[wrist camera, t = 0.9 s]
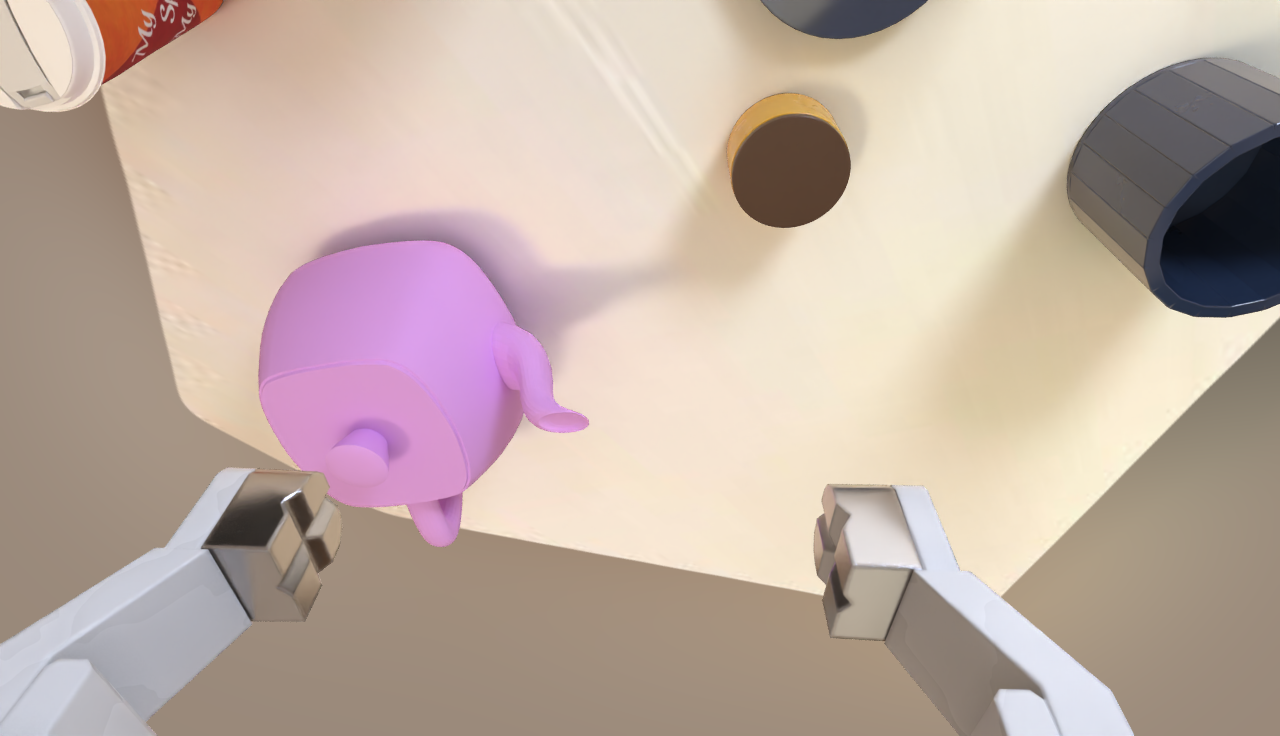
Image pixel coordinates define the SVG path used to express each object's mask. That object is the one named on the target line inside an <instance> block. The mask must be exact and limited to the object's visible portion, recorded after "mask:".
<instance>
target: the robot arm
mask: <svg viewBox="0 0 1280 736" xmlns="http://www.w3.org/2000/svg"><path fill="white" fill-rule="evenodd" d="M329 488H330V486H329V484H328V481H327V479H326V477H325V475H324V473H321V472H317V471H299V470H280V469H260V468H258V469H251V468H230V467H227V468H225V469H224V470H222V471H221V472H219V473H218V474H217V475H216V476H215V477H214V479H213V480H212V482H211V483H210V484H209V486H208V487H207V489H206V490H205V491H204V493H203V494H202V496H201V497H200V498H199V500H198V501H197V503H196V504H195V505H194V507H193V508H192V510H191V511H190V513H189V514H188V515H187V517H186V518H185V520H184V521H183V522H182V524H181V525H180V527H179V528H178V530H177V531H176V532H175V534H174V535H173V536H172V538H171V539H170V541H169V542H168V544H167V545H166V546H165V548H154V549H152V550H151V551H149V552H148V553H146V554H144V555H143V556H141V557H139V558H138V559H136V560H135V561H133V562H132V563H130V564H128V565H127V566H125V567H123V568H122V569H120V570H119V571H117V572H116V573H114V574H112V575H111V576H109V577H107V578H106V579H104V580H103V581H101V582H99V583H98V584H96V585H95V586H93V587H91V588H90V589H88V590H86V591H85V592H83V593H82V594H80V595H78V596H77V597H76V598H74V599H72V600H70V601H69V602H67V603H66V604H64V605H62V606H61V607H59V608H58V609H56V610H54V611H53V612H51V613H50V614H48V615H46V616H45V617H43V618H42V619H40V620H38V621H37V622H35V623H34V624H32V625H30V626H29V627H27V628H26V629H24V630H22V631H21V632H19V633H18V634H16V635H14V636H13V637H11V638H9V639H8V640H6V641H5V642H3V643H2V644H0V736H157V734H155V732H154V731H153V730H152V729H151V728H150V727H149V726H148V725H147V724H146V721H147V720H148V719H149V718H150V717H151V716H153V715H154V714H155V713H156V712H157V711H158V710H159V709H160V708H161V707H162V706H163V705H165V704H166V703H167V702H168V701H169V700H170V699H171V698H172V697H173V696H174V695H175V694H177V693H178V692H179V691H180V690H181V689H182V688H183V687H184V686H185V685H186V684H188V683H189V682H190V681H191V680H192V679H193V678H194V677H195V676H196V675H197V674H199V673H200V672H201V671H202V670H203V669H204V668H205V667H206V666H207V665H208V664H209V663H211V662H212V661H213V660H214V659H215V658H216V657H217V656H218V655H219V654H220V653H221V652H223V651H224V650H225V649H226V648H227V647H228V646H229V645H230V644H231V643H232V642H233V641H235V640H236V639H237V638H238V637H239V636H240V635H241V634H242V633H243V632H244V631H246V630H247V629H248V628H249V627H250V626H251V625H252V622H251V621H296V622H301V621H303V622H305V621H306V619H307V616H308V614H309V612H310V610H311V608H312V606H313V604H314V601H315V599H316V597H317V595H318V592H319V591H320V589H321V586H322V584H321V581H320V578H319V575H318V573H319V572H320V571H322V570H323V569H324V568H325V567H327V566H328V565H329V564H331V563H332V562H333V560H334V558H335V556H336V553H337V551H338V549H339V546H340V540H341V534H342V520H341V514H340V512H339V509H338V507H337V505H336V504H334V503H333V502H332V501H330V500H329V499H328V498H326V497H325V496H326V494H327V492H328V490H329ZM822 505H823V509H824V514H822V515H821V516H820V517H819V518H817V521H816V526H815V531H814V559H815V566H816V571H817V576H818V577H819V578H820V579H821V580H822V581H823V582H824V583H825V584H826V588H825V592H824V596H823V600H822V601H823V606H824V610H825V615H826V620H827V625H828V630H829V634H830V638H841V639H859V640H877V641H885V645H886V646H887V648H888V649H889V650H890V651H891V652H892V654H893V655H894V656H895V657H896V659H897V660H898V661H899V662H900V663H901V665H902V666H903V667H904V668H905V670H906V671H907V672H908V673H909V674H910V676H911V677H912V678H913V679H914V681H915V682H916V683H917V684H918V685H919V687H920V688H921V689H922V690H923V691H924V693H925V694H926V695H927V696H928V698H929V699H930V700H931V701H932V703H933V704H934V705H935V706H936V707H937V709H938V710H939V711H940V712H941V714H942V715H943V716H944V717H945V718H946V720H947V721H948V722H949V723H950V725H951V726H952V727H953V728H954V729H955V731H956V732H957V733H958V734H959V736H1134V734H1133V732H1132V730H1131V728H1130V726H1129V724H1128V722H1127V720H1126V718H1125V716H1124V715H1123V713H1122V711H1121V709H1120V707H1119V705H1118V703H1117V701H1116V699H1115V697H1114V695H1113V693H1112V691H1111V690H1110V689H1109V688H1107V687H1106V686H1105V685H1104V684H1103V683H1102V682H1100V681H1099V680H1098V679H1097V678H1096V677H1094V676H1093V675H1092V674H1091V673H1090V672H1088V671H1087V670H1086V669H1085V668H1084V667H1083V666H1081V665H1080V664H1079V663H1078V662H1077V661H1076V660H1074V659H1073V658H1072V657H1071V656H1070V655H1068V654H1067V653H1066V652H1065V651H1064V650H1063V649H1061V648H1060V647H1059V646H1058V645H1057V644H1055V643H1054V642H1053V641H1052V640H1051V639H1050V638H1048V637H1047V636H1046V635H1045V634H1044V633H1042V632H1041V631H1040V630H1039V629H1038V628H1037V627H1035V626H1034V625H1033V624H1032V623H1031V622H1029V621H1028V620H1027V619H1026V618H1025V617H1024V616H1022V615H1021V614H1020V613H1019V612H1018V611H1016V610H1015V609H1014V608H1013V607H1012V606H1011V605H1009V604H1008V603H1007V602H1006V601H1005V600H1003V599H1002V598H1001V597H1000V596H999V595H998V594H996V593H995V592H994V591H993V590H992V589H990V588H989V587H988V586H987V585H986V584H985V583H983V582H982V581H981V580H980V579H979V578H977V577H976V576H975V575H974V574H973V573H972V572H970V571H960V568H959V566H958V564H957V561H956V559H955V556H954V554H953V551H952V549H951V546H950V544H949V541H948V539H947V536H946V534H945V531H944V529H943V527H942V524H941V522H940V519H939V517H938V514H937V512H936V509H935V507H934V504H933V502H932V499H931V497H930V495H929V492H928V490H927V489H926V488H925V487H924V486H906V485H891V486H889V485H859V484H827V486H826V487H825V489H824V492H823V496H822Z"/></svg>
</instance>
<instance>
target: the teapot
mask: <svg viewBox="0 0 1280 736" xmlns="http://www.w3.org/2000/svg"><path fill="white" fill-rule="evenodd" d="M258 378H259V398H260V402H261V405H262V409H263V411H264V413H265V416H266V418H267V420H268V422H269V424H270V426H271V428H272V429H273V431H274V433H275V435H276V436H277V438H278V440H279V441H280V443H281V445H282V446H283V448H284V449H285V451H286V452H287V454H288V455H289V456H290V457H291V458H292V460H293V461H294V462H295V463H296V464H297V465H298V467H299V468H300V469H301V470H302V471H317V472H321V473H324V475H325V477H326V479H327V481H328V484H329V486H330V488H329V490H328V492H327V494H329V495H330V496H331V497H333V498H334V499H336V500H338V501H340V502H342V503H344V504H347V505H350V506H354V507H387V506H396V505H406V504H407V507H408V509H409V511H410V514H411V516H412V518H413V520H414V523H415V524H416V527H417V528H418V530H419V532H420V534H421V535H422V537H423V538H424V539H425V540H426V541H427V542H428V543H429V544H431V545H433V546H438V547H445V546H448V545H450V544H451V543H453V542H454V540H455V539H456V537H457V535H458V532H459V528H460V522H461V513H462V492H463V491H465V490H466V489H467V488H468V487H469V486H471V485H472V484H473V483H474V482H475V481H476V480H477V479H478V478H479V477H480V476H481V475H482V474H483V473H484V472H485V471H486V470H487V469H488V468H489V467H490V466H491V465H492V464H493V463H494V462H495V461H496V460H497V458H498V457H499V456H500V455H501V454H502V452H503V451H504V449H505V448H506V446H507V445H508V443H509V442H510V441H511V439H512V438H513V436H514V434H515V432H516V430H517V428H518V426H519V424H520V421H521V419H522V416H523V413H525V415H526V417H527V418H528V420H529V421H530V422H531V423H532V424H534V425H535V426H536V427H538V428H540V429H543V430H546V431H550V432H559V433H565V432H575V431H580V430H582V429H585V428H586V427H587V426H588V425H589V420H588V419H587V418H586V417H585V416H584V415H582V414H580V413H578V412H575V411H572V410H569V409H566V408H564V407H562V406H560V405H559V404H557V403H556V402H555V400H554V398H553V378H552V369H551V365H550V362H549V360H548V357H547V354H546V352H545V350H544V348H543V346H542V345H541V344H540V343H539V342H538V340H537V339H536V338H535V337H534V336H533V335H532V334H531V333H529V332H527V331H526V330H524V329H522V328H520V327H519V326H516V324H515V321H514V319H513V317H512V315H511V313H510V312H509V310H508V308H507V306H506V305H505V303H504V301H503V299H502V298H501V296H500V295H499V293H498V292H497V290H496V289H495V287H494V286H493V284H492V283H491V282H490V280H489V279H488V277H487V276H486V275H485V273H484V272H483V271H482V270H481V268H480V267H479V266H478V265H477V264H476V263H475V262H474V261H473V260H472V259H471V258H470V257H469V256H467V255H466V254H465V253H464V252H463V251H461V250H459V249H457V248H456V247H454V246H452V245H449V244H446V243H443V242H437V241H430V240H424V241H401V242H391V243H382V244H375V245H368V246H361V247H357V248H352V249H348V250H344V251H340V252H337V253H334V254H330V255H327V256H323V257H321V258H318V259H316V260H313V261H311V262H308V263H306V264H304V265H302V266H301V267H299V268H298V269H296V270H295V271H293V272H292V273H291V274H290V275H289V277H288V278H287V279H286V281H285V282H284V283H283V285H282V286H281V288H280V289H279V291H278V293H277V294H276V296H275V298H274V300H273V303H272V305H271V307H270V310H269V312H268V315H267V318H266V321H265V325H264V329H263V332H262V339H261V346H260V358H259V375H258Z"/></svg>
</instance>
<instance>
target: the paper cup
mask: <svg viewBox="0 0 1280 736" xmlns="http://www.w3.org/2000/svg"><path fill="white" fill-rule="evenodd" d="M222 2H223V0H0V105H1V106H4V107H8V108H13V109H19V110H26V109H32V110H38V111H44V112H60V111H67V110H72V109H74V108H77V107H80V106H82V105H83V104H85V103H86V102H88V101H89V100H90V99H92V98H93V96H94V95H95V94H96V93H97V92H98V90H99V88H100V86H101V85H102V84H104V83H106V82H107V81H109V80H111V79H113V78H114V77H116V76H118V75H120V74H121V73H123V72H124V71H126V70H127V69H129V68H130V67H132V66H133V65H135V64H136V63H138V62H139V61H141V60H143V59H144V58H146V57H147V56H149V55H150V54H152V53H153V52H155V51H156V50H158V49H160V48H161V47H163V46H165V45H166V44H168V43H169V42H171V41H173V40H174V39H176V38H178V37H179V36H181V35H182V34H184V33H186V32H187V31H189V30H190V29H192V28H194V27H195V26H197V25H198V24H200V23H201V22H203V21H204V20H206V19H207V18H209V17H210V16H211V15H212V14H214V13H215V12H216V11H217V10H218V8H219V7H220V6H221V4H222Z"/></svg>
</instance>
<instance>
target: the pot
mask: <svg viewBox="0 0 1280 736" xmlns="http://www.w3.org/2000/svg"><path fill="white" fill-rule="evenodd" d="M1067 193H1068V199H1069V203H1070V206H1071V208H1072V210H1073V212H1074V214H1075V215H1076V217H1077V219H1078V220H1079V221H1080V222H1081V223H1082V224H1083V225H1084V226H1085V227H1086V228H1087V229H1088V230H1089V231H1090V232H1091V233H1092V234H1093V235H1094V236H1095V237H1096V238H1097V239H1098V240H1099V241H1100V242H1101V243H1102V244H1103V245H1104V246H1105V247H1106V248H1107V249H1108V250H1109V251H1110V252H1111V253H1112V254H1113V255H1114V256H1115V257H1116V258H1117V259H1118V260H1119V261H1120V262H1121V263H1122V264H1123V265H1124V266H1125V267H1126V268H1127V269H1128V270H1129V271H1130V272H1131V273H1132V274H1133V275H1134V276H1135V277H1136V278H1137V279H1138V280H1139V281H1140V282H1141V283H1142V284H1144V285H1145V286H1146V287H1147V288H1148V289H1149V290H1150V291H1151V292H1152V293H1153V294H1154V295H1155V296H1156V297H1157V298H1158V299H1159V300H1160V301H1161V302H1162V303H1163V304H1164V305H1165V306H1167V307H1168V308H1170V309H1173V310H1176V311H1179V312H1182V313H1184V314H1187V315H1190V316H1193V317H1223V318H1226V317H1233V316H1238V315H1243V314H1248V313H1253V312H1258V311H1262V310H1266V309H1268V308H1271V307H1273V306H1276V305H1278V304H1280V78H1278V77H1276V76H1273V75H1271V74H1269V73H1267V72H1264V71H1262V70H1260V69H1257V68H1255V67H1252V66H1250V65H1248V64H1245V63H1243V62H1241V61H1237V60H1232V59H1227V58H1201V59H1195V60H1190V61H1185V62H1182V63H1178V64H1175V65H1172V66H1169V67H1167V68H1164V69H1162V70H1159V71H1157V72H1155V73H1153V74H1151V75H1149V76H1147V77H1145V78H1143V79H1142V80H1140V81H1139V82H1137V83H1136V84H1134V85H1132V86H1131V87H1129V88H1128V89H1127V90H1125V91H1124V92H1123V93H1121V94H1120V95H1119V96H1118V97H1116V98H1115V99H1114V100H1113V101H1112V102H1111V103H1110V104H1109V105H1108V106H1106V107H1105V108H1104V110H1103V111H1102V112H1101V113H1100V114H1099V115H1098V116H1097V117H1096V118H1095V120H1094V121H1093V122H1092V123H1091V125H1090V126H1089V127H1088V129H1087V130H1086V132H1085V133H1084V135H1083V137H1082V138H1081V140H1080V141H1079V143H1078V145H1077V148H1076V150H1075V152H1074V154H1073V157H1072V160H1071V163H1070V166H1069V171H1068V176H1067Z"/></svg>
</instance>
